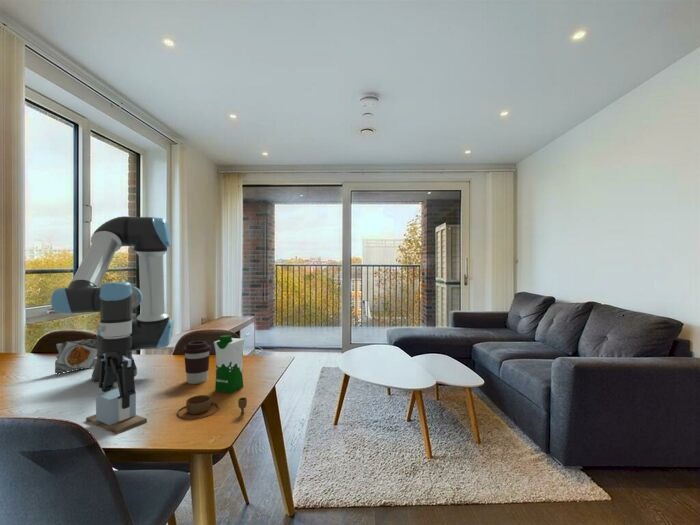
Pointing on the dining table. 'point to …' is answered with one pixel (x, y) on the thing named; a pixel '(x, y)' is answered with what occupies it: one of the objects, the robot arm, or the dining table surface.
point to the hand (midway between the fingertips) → (116, 416)
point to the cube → (111, 406)
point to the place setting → (206, 405)
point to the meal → (76, 355)
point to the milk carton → (228, 364)
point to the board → (118, 423)
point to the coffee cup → (197, 361)
